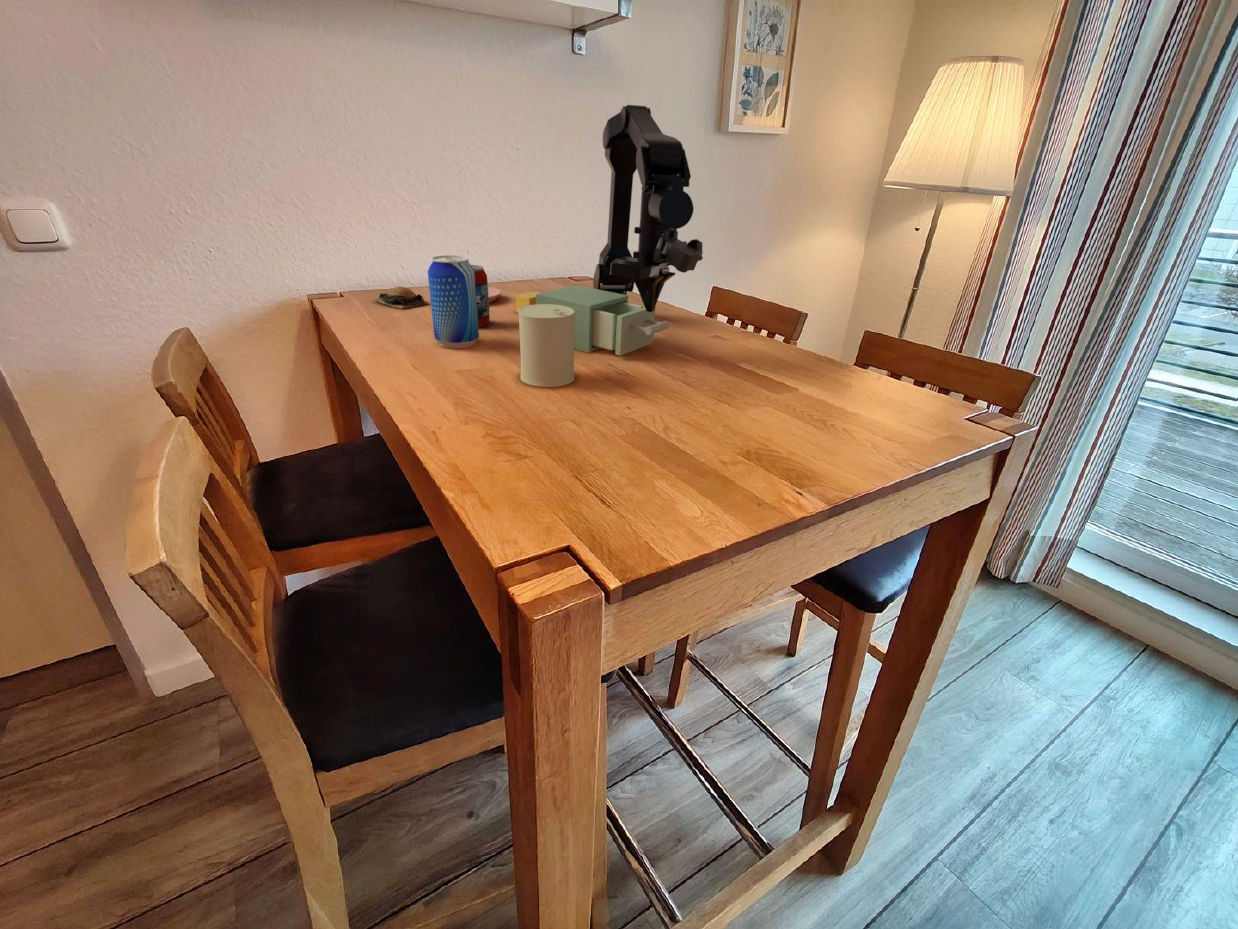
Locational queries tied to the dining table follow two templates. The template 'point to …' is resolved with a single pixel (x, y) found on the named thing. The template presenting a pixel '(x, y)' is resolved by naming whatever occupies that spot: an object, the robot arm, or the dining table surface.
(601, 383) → the dining table surface
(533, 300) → the block
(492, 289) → the plate
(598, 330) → the drawer
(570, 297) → the cabinet
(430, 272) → the beer can
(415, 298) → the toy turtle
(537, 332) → the can
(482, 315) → the beverage can
